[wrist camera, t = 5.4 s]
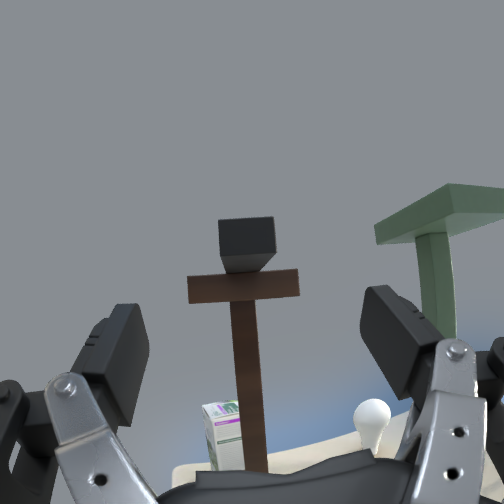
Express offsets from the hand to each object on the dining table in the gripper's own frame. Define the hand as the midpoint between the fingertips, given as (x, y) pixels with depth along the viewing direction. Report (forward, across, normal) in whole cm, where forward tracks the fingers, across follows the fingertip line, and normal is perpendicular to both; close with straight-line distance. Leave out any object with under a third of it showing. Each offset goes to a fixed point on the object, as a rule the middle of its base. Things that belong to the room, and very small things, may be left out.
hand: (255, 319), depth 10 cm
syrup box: (+10, +3, +39) cm, 40 cm away
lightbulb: (+13, -19, +40) cm, 47 cm away
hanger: (+13, 0, +4) cm, 13 cm away
